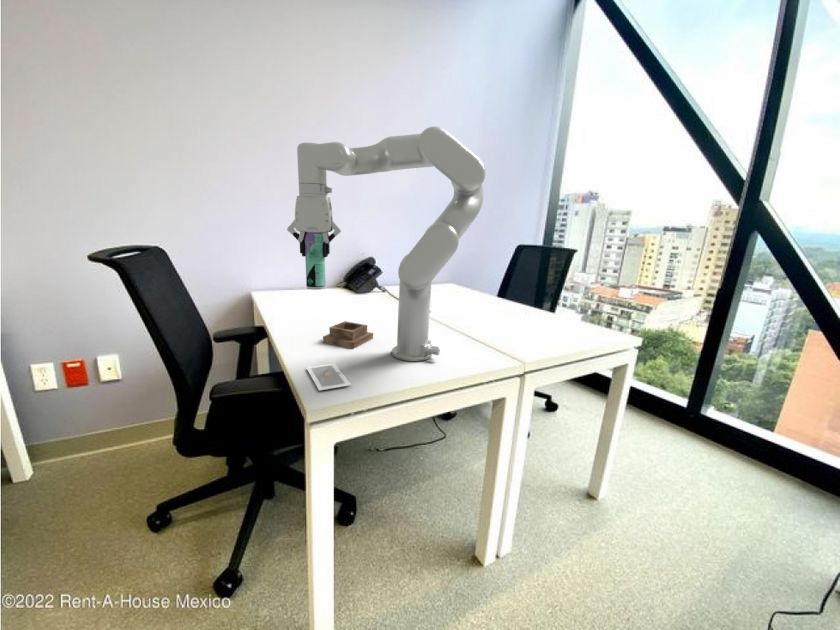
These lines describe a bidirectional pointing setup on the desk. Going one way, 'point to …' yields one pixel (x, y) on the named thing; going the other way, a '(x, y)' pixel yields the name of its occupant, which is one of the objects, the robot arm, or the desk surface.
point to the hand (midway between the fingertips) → (315, 255)
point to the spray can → (314, 259)
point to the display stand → (348, 335)
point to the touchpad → (327, 376)
